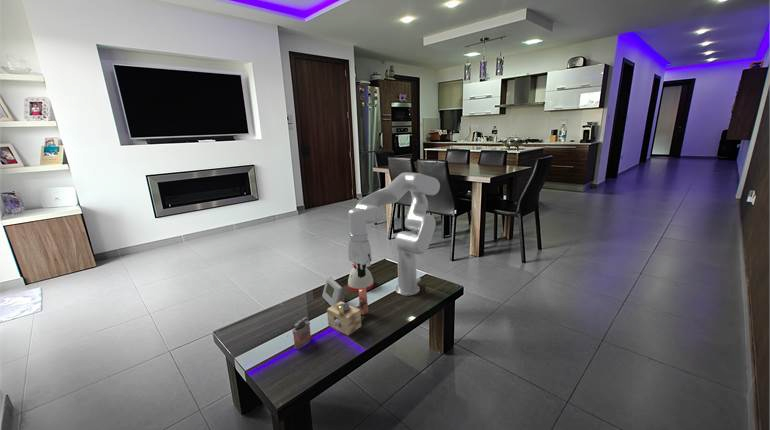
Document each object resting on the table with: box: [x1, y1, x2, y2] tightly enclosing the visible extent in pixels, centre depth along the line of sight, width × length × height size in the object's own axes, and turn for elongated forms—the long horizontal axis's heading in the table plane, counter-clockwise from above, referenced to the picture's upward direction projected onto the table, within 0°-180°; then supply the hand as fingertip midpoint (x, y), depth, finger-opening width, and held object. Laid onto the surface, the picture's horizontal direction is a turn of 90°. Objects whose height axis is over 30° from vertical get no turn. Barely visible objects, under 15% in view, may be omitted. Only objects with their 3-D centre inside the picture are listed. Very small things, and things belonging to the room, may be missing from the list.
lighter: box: [292, 316, 313, 350], centre depth 126 cm, size 8×3×10 cm, turn 148°
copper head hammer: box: [334, 288, 369, 326], centre depth 139 cm, size 19×4×12 cm, turn 141°
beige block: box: [326, 301, 362, 336], centre depth 136 cm, size 8×12×8 cm, turn 51°
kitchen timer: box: [347, 263, 375, 292], centre depth 172 cm, size 14×14×15 cm
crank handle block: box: [337, 303, 350, 317], centre depth 132 cm, size 5×10×5 cm, turn 1°
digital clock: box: [321, 276, 346, 307], centre depth 156 cm, size 16×9×11 cm, turn 21°
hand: (361, 276), depth 141 cm, fingers closed
